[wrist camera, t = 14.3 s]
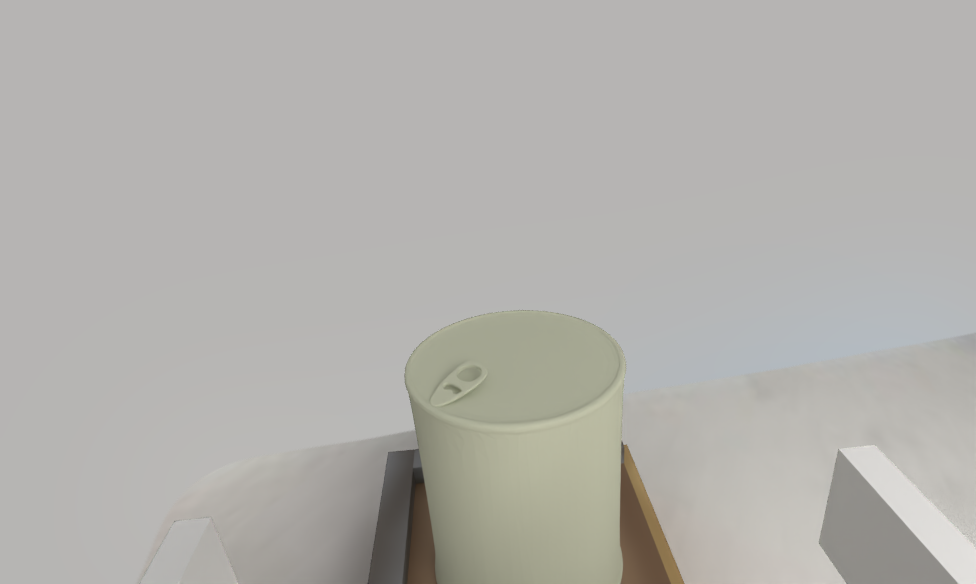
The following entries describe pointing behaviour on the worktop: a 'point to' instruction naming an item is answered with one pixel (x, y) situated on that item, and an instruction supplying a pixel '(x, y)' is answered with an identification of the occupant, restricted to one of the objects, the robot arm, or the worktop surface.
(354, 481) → the worktop surface
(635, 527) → the brown wooden tray
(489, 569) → the can
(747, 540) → the worktop surface
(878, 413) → the worktop surface
